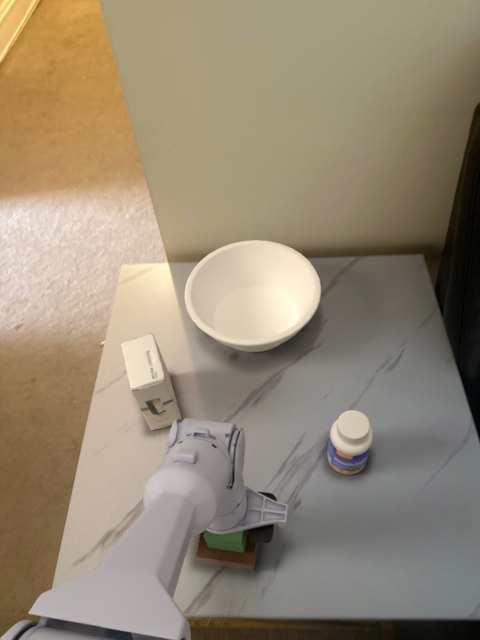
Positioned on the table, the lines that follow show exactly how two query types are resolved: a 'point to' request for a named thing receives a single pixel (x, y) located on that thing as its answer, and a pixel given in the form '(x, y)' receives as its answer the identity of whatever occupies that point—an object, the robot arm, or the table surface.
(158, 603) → the robot arm
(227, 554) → the walnut block
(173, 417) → the ink box
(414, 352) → the table surface
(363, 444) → the pill bottle
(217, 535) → the green cube
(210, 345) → the table surface
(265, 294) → the bowl
